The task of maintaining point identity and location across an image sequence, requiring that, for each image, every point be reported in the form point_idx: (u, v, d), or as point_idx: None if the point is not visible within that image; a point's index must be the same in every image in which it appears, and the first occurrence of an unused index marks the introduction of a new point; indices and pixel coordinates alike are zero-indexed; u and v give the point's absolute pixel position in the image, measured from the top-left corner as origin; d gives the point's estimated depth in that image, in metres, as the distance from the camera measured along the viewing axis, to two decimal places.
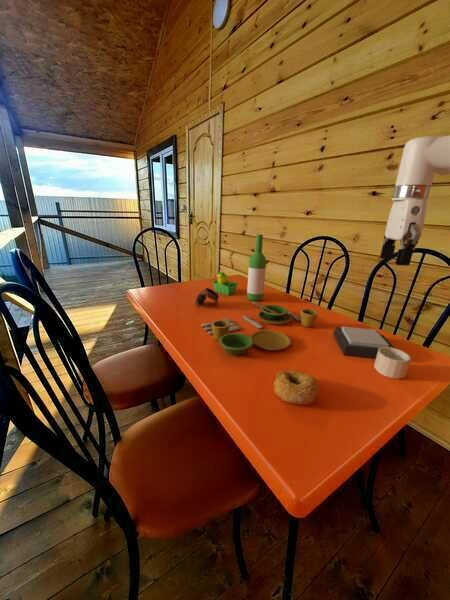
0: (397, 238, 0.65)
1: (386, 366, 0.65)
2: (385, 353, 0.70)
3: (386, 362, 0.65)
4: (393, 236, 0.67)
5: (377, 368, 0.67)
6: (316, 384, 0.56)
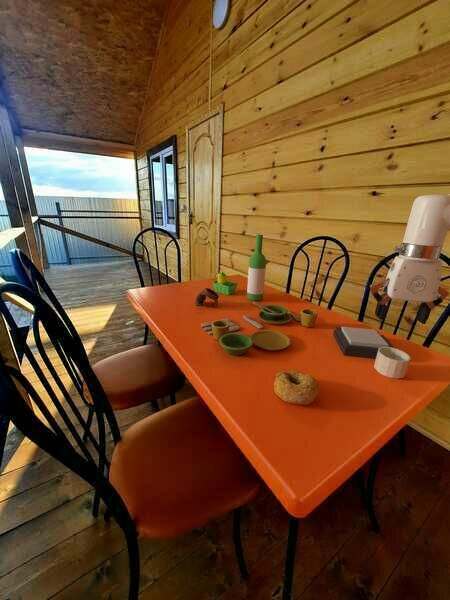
0: None
1: (386, 366, 0.65)
2: (385, 353, 0.70)
3: (386, 362, 0.65)
4: None
5: (377, 368, 0.67)
6: (316, 384, 0.56)
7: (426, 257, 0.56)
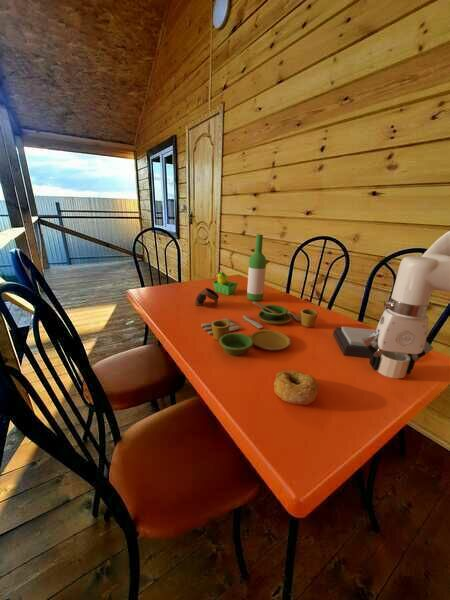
0: None
1: (386, 366, 0.65)
2: (385, 353, 0.70)
3: (386, 362, 0.65)
4: None
5: None
6: (316, 384, 0.56)
7: (413, 315, 0.59)
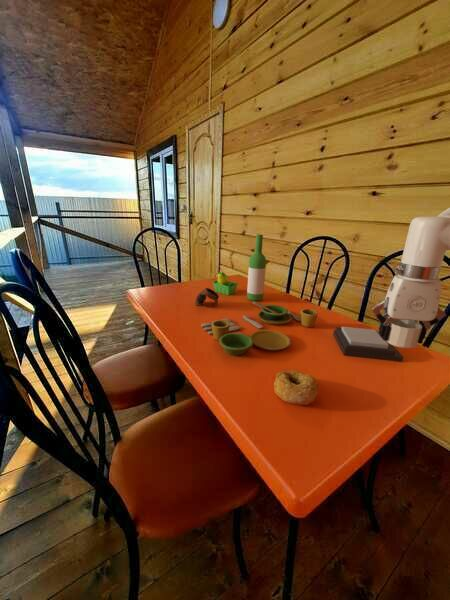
0: None
1: (397, 335, 0.62)
2: (395, 324, 0.67)
3: (396, 331, 0.62)
4: None
5: None
6: (316, 384, 0.56)
7: (425, 278, 0.56)
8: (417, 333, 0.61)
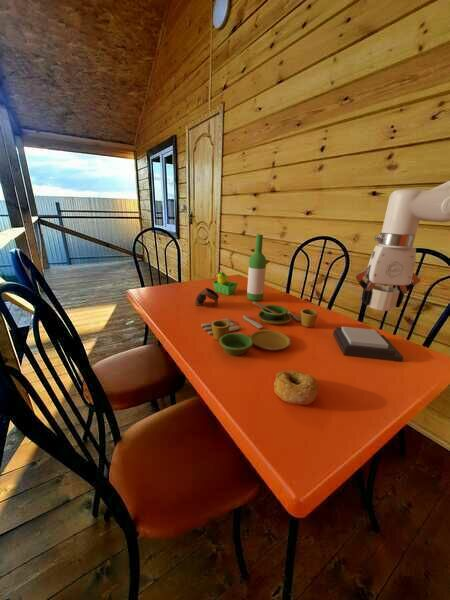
0: None
1: (377, 299, 0.69)
2: None
3: (377, 295, 0.69)
4: None
5: (369, 303, 0.71)
6: (316, 384, 0.56)
7: (401, 245, 0.63)
8: (395, 296, 0.68)
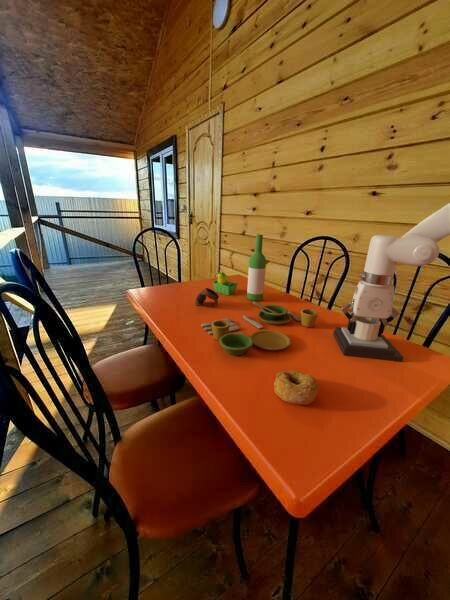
0: None
1: (360, 329, 0.76)
2: (361, 321, 0.81)
3: (360, 326, 0.76)
4: None
5: None
6: (316, 384, 0.56)
7: (380, 284, 0.70)
8: (376, 328, 0.75)
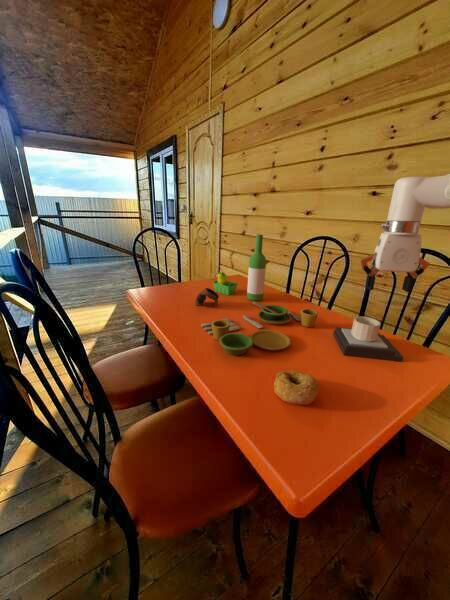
0: None
1: (360, 331, 0.76)
2: (361, 322, 0.82)
3: (360, 327, 0.76)
4: None
5: (353, 334, 0.79)
6: (316, 384, 0.56)
7: (407, 231, 0.64)
8: (376, 329, 0.75)
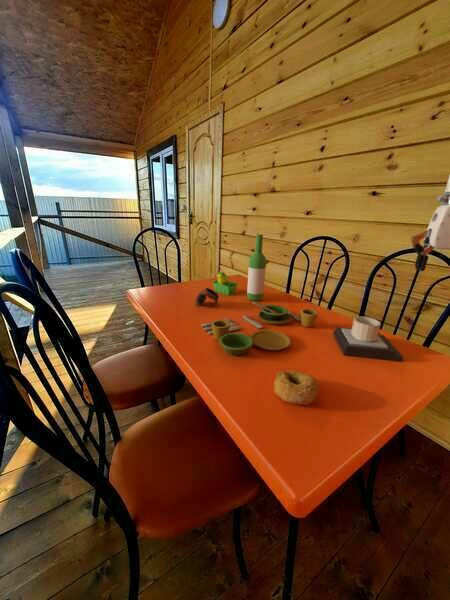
0: None
1: (360, 331, 0.76)
2: (361, 322, 0.82)
3: (360, 327, 0.76)
4: None
5: (353, 334, 0.79)
6: (316, 384, 0.56)
7: None
8: (376, 329, 0.75)
